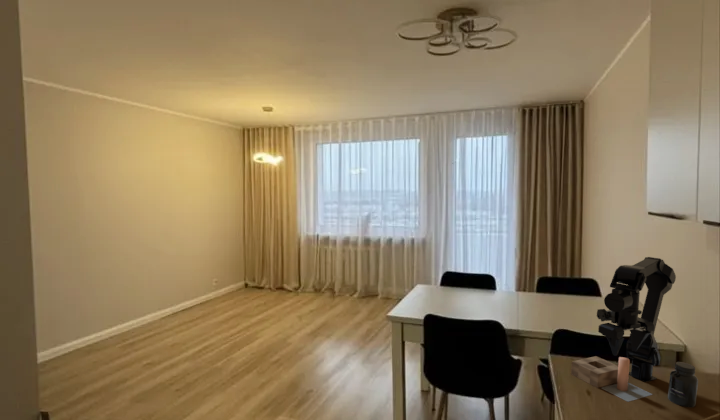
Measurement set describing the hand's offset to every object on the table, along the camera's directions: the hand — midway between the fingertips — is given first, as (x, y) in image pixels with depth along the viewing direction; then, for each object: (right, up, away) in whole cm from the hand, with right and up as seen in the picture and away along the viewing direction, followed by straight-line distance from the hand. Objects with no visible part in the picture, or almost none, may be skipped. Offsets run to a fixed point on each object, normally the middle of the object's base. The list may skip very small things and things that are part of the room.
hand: (624, 353), depth 135 cm
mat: (0, -12, 0) cm, 12 cm away
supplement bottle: (+14, -13, -6) cm, 20 cm away
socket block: (-4, -12, +8) cm, 15 cm away
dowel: (0, -12, +1) cm, 12 cm away
